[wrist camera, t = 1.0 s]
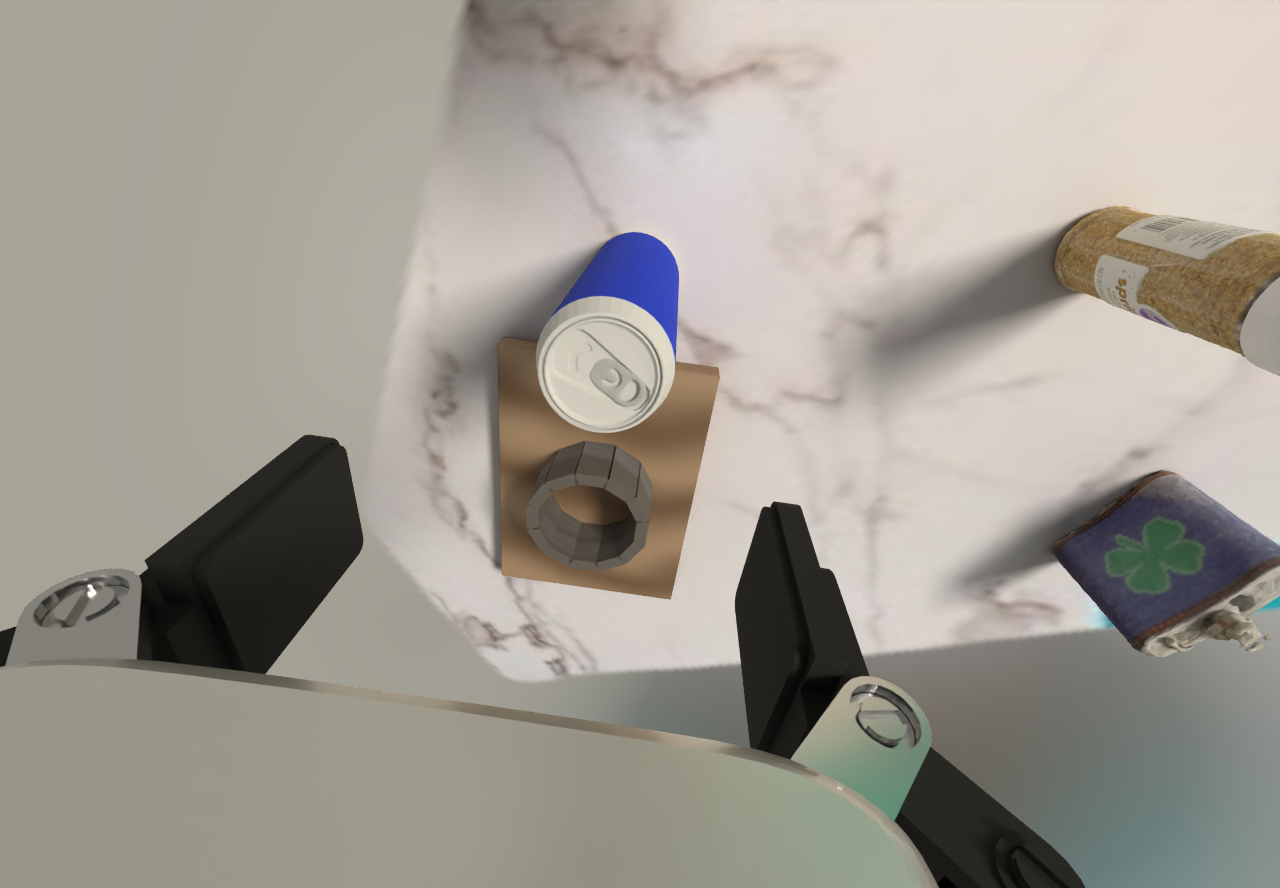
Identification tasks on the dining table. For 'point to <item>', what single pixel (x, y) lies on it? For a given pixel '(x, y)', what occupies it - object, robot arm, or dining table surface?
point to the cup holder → (597, 483)
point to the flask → (1173, 567)
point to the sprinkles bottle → (1181, 276)
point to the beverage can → (613, 337)
